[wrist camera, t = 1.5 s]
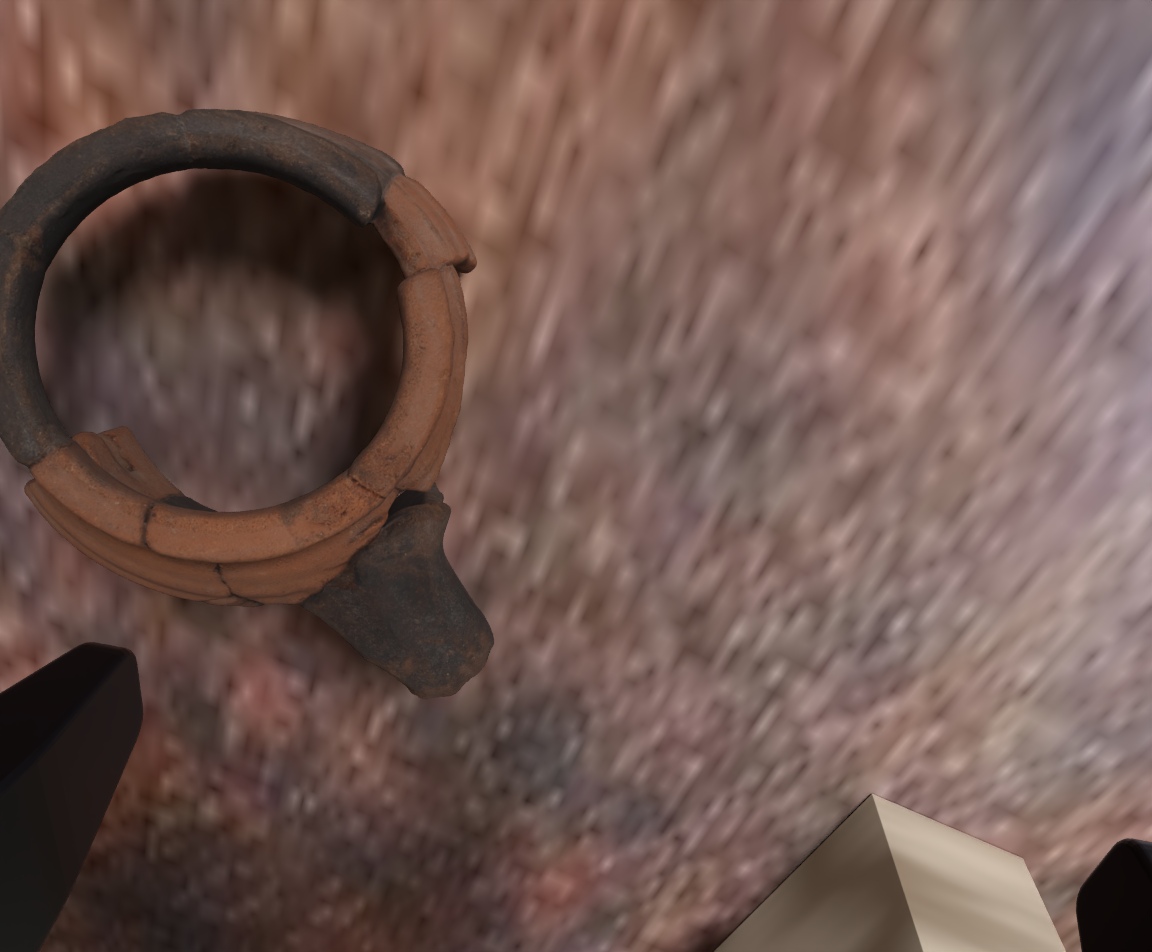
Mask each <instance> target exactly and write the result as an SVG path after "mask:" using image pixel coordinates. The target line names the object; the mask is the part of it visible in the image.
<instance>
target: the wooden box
mask: <svg viewBox="0 0 1152 952" xmlns="http://www.w3.org/2000/svg"><path fill="white" fill-rule="evenodd" d="M714 952H1066V951H1065V949H1064V947H1063V944H1062V942H1061V940H1060V938H1059V936H1058V934H1057V931H1056V929H1055V927H1054V925H1053V923H1052V921H1051V918H1050V916H1049V914H1048V912H1047V910H1046V908H1045V906H1044V903H1043V901H1042V899H1041V897H1040V895H1039V893H1038V890H1037V888H1036V886H1035V884H1034V882H1033V880H1032V877H1031V875H1030V873H1029V871H1028V869H1027V867H1026V865H1025V862H1024V860H1023V858H1021V857H1018V856H1016V855H1014V854H1011V853H1009V852H1007V851H1004V850H1002V849H1000V848H997V847H995V846H993V845H990V844H988V843H986V842H983V841H981V840H979V839H976V838H974V837H972V836H969V835H967V834H965V833H962V832H960V831H958V830H955V829H953V828H951V827H948V826H946V825H944V824H941V823H939V822H937V821H934V820H932V819H930V818H927V817H925V816H923V815H920V814H918V813H916V812H913V811H911V810H909V809H906V808H904V807H902V806H899V805H897V804H895V803H892V802H890V801H888V800H885V799H883V798H881V797H878V796H876V795H874V794H871V795H870V796H869V797H868V798H867V799H866V800H865V801H864V802H863V803H862V804H861V805H860V806H859V807H858V808H857V809H856V810H855V811H854V812H853V813H852V814H851V815H850V816H849V817H848V818H847V819H846V820H845V821H844V822H843V823H842V824H841V825H840V826H839V827H838V828H837V829H836V830H835V831H834V832H833V833H832V834H831V835H830V836H829V837H828V838H827V839H826V840H825V841H824V842H823V843H822V844H821V845H820V846H819V847H818V848H817V849H816V850H815V851H814V852H813V853H812V854H811V855H810V856H809V857H808V858H807V859H806V860H805V861H804V862H803V863H802V864H801V865H800V866H799V867H798V868H797V869H796V870H795V871H794V872H793V873H792V874H791V875H790V876H789V877H788V878H787V879H786V880H785V881H784V882H783V883H782V884H781V885H780V886H779V887H778V888H777V889H776V890H775V891H774V892H773V893H772V894H771V895H770V896H769V897H768V898H767V899H766V900H765V901H764V902H763V903H762V904H761V905H760V906H759V907H758V908H757V909H756V910H755V911H754V912H753V913H752V914H751V915H750V916H749V917H748V918H747V919H746V920H745V921H744V922H743V923H742V924H741V925H740V926H739V927H738V928H737V929H736V930H735V931H734V932H733V933H732V934H731V935H730V936H729V937H728V938H727V939H726V940H725V941H724V942H723V943H722V944H721V945H720V946H719V947H718V948H717V949H716V950H715V951H714Z"/></svg>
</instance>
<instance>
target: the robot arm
mask: <svg viewBox="0 0 1152 952" xmlns="http://www.w3.org/2000/svg"><path fill="white" fill-rule="evenodd" d="M142 720H143V705H142V697H141V690H140V682H139V674H138V666H137V661H136V657H135V655H134V654H133V652H132V651H131V650H129V649H126V648H122V647H117V646H111V645H106V644H101V643H95V642H88V643H84V644H81V645H79V646H77V647H75V648H73V649H72V650H70V651H68V652H67V653H65V654H63V655H62V656H60V657H59V658H57V659H55V660H54V661H52V662H50V663H49V664H47V665H46V666H44V667H42V668H41V669H39V670H37V671H36V672H34V673H33V674H31V675H29V676H28V677H26V678H24V679H23V680H21V681H19V682H18V683H16V684H15V685H13V686H11V687H10V688H8V689H6V690H5V691H3V692H2V693H0V952H38V951H39V950H40V948H41V946H42V944H43V943H44V941H45V939H46V937H47V935H48V934H49V932H50V930H51V928H52V927H53V925H54V923H55V921H56V919H57V917H58V915H59V914H60V912H61V910H62V908H63V906H64V904H65V902H66V900H67V898H68V897H69V894H70V892H71V890H72V888H73V886H74V883H75V881H76V879H77V877H78V875H79V873H80V870H81V868H82V866H83V863H84V861H85V859H86V856H87V854H88V852H89V849H90V847H91V845H92V842H93V840H94V838H95V836H96V833H97V831H98V829H99V826H100V824H101V822H102V819H103V817H104V815H105V812H106V810H107V808H108V805H109V803H110V801H111V798H112V796H113V794H114V791H115V789H116V787H117V784H118V782H119V780H120V777H121V775H122V773H123V770H124V768H125V766H126V764H127V761H128V759H129V757H130V754H131V752H132V750H133V747H134V745H135V743H136V740H137V738H138V735H139V732H140V729H141V725H142ZM1076 914H1077V922H1078V929H1079V936H1080V942H1081V949H1082V952H1152V842H1148V841H1142V840H1137V839H1123V840H1121V841H1119V842H1117V843H1116V844H1115V845H1114V846H1113V847H1112V849H1111V850H1110V851H1109V852H1108V853H1107V855H1106V856H1105V857H1104V858H1103V860H1102V861H1101V862H1100V863H1099V865H1098V866H1097V867H1096V868H1095V870H1094V871H1093V872H1092V873H1091V874H1090V876H1089V877H1088V878H1087V879H1086V881H1085V882H1084V883H1083V885H1082V886H1081V888H1080V891H1079V893H1078V897H1077V902H1076Z"/></svg>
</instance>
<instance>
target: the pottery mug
mask: <svg viewBox="0 0 1152 952" xmlns="http://www.w3.org/2000/svg"><path fill="white" fill-rule="evenodd" d="M193 168H198V169H203V168H207V169H231V170H242V171H248V172H255V173H261V174H264V175H268V176H271V177H274V178H278V179H281V180H283V181H286V182H289V183H291V184H293V185H295V186H297V187H299V188H301V189H302V190H304V191H307V192H310V193H312V194H314V195H316V196H318V197H319V198H321V199H322V200H324V201H325V202H327V203H329V204H330V205H332V206H333V207H334V208H336V209H337V210H338V211H339V212H340V213H341V214H343V215H344V216H345V217H347V218H348V219H349V220H350V221H352V222H353V223H354V224H356V225H358V226H360V227H364V226H365V225H366V224H368V223H371V224H373V226H374V227H375V229H376V230H377V231H378V233H379V234H380V235H381V237H382V239H383V240H384V242H385V243H386V245H387V246H388V247H389V249H390V250H391V251H392V253H393V254H394V256H395V258H396V259H397V261H398V263H399V265H400V268H401V270H402V273H403V275H404V278H405V280H404V281H403V282H402V283H400V285H399V286H398V288H397V299H398V304H399V310H400V316H401V322H402V327H403V362H402V370H401V375H400V379H399V384H398V387H397V390H396V394H395V397H394V399H393V402H392V404H391V407H390V409H389V411H388V414H387V416H386V418H385V420H384V421H383V423H382V425H381V427H380V428H379V430H378V432H377V434H376V435H375V437H374V438H373V439H372V440H371V442H370V443H369V444H368V445H367V447H366V448H365V449H363V450H362V451H361V453H360V454H359V455H358V456H357V457H356V458H355V460H354V461H353V462H352V464H351V466H350V467H349V468H348V469H347V470H346V471H344V472H343V473H341V474H340V475H338V476H337V477H335V478H334V479H333V480H331V481H330V482H328V483H327V484H325V485H323V486H321V487H319V488H318V489H316V490H314V491H312V492H310V493H308V494H305V495H303V496H301V497H299V498H296V499H293V500H291V501H288V502H286V503H283V504H280V505H276V506H273V507H269V508H265V509H258V510H250V511H242V512H217V511H215V510H212V509H210V508H207V507H205V506H203V505H201V504H199V503H198V502H196V501H194V500H192V499H191V498H188V497H186V496H185V495H184V494H183V493H182V492H181V491H180V490H179V489H177V488H176V487H175V486H174V485H173V484H172V483H171V482H170V481H169V480H168V479H167V478H166V477H165V476H164V475H163V474H162V473H161V472H160V471H159V469H158V468H157V467H156V466H155V465H154V464H153V463H152V462H151V461H150V459H149V458H148V457H147V455H146V454H145V452H144V451H143V449H142V448H141V446H140V445H139V443H138V442H137V440H136V438H135V436H134V435H133V433H132V432H131V431H130V430H129V429H128V428H126V427H119V428H115V429H112V430H108V431H104V432H101V433H99V434H95V433H93V432H81V433H78V434H77V435H75V436H74V437H73V438H72V439H71V438H70V437H69V436H68V435H67V433H66V432H65V430H64V428H63V427H62V425H61V424H60V422H59V420H58V418H57V417H56V415H55V413H54V411H53V409H52V407H51V405H50V402H49V400H48V397H47V395H46V392H45V390H44V387H43V384H42V380H41V377H40V373H39V368H38V362H37V357H36V347H35V321H36V311H37V304H38V299H39V295H40V291H41V288H42V284H43V280H44V276H45V272H46V270H47V268H48V267H49V265H50V264H51V262H52V260H53V259H54V257H55V255H56V254H57V252H58V250H59V249H60V248H61V246H62V245H63V243H64V242H65V240H66V239H67V237H68V236H69V235H70V234H71V233H72V232H73V231H74V230H75V229H76V228H77V226H78V225H79V224H80V223H81V222H82V221H83V220H84V219H85V218H86V217H87V216H88V215H89V214H90V213H91V212H92V211H94V210H95V209H96V208H97V207H98V206H100V205H101V204H102V203H104V202H105V201H106V200H107V199H109V198H110V197H112V196H114V195H116V194H118V193H119V192H121V191H123V190H124V189H126V188H128V187H130V186H132V185H134V184H137V183H139V182H141V181H144V180H148V179H151V178H153V177H155V176H158V175H162V174H166V173H171V172H175V171H182V170H187V169H193ZM476 265H477V261H476V257H475V255H474V253H473V251H472V249H471V247H470V246H469V244H468V243H467V241H466V239H465V238H464V236H463V234H462V233H461V231H460V230H459V228H458V227H457V225H456V224H455V222H454V221H453V220H452V218H451V217H450V216H449V214H448V213H447V212H446V210H445V209H444V208H443V207H442V206H441V205H440V203H439V202H438V201H437V200H436V199H435V198H434V197H433V196H432V195H431V194H430V192H429V191H428V190H427V189H426V188H425V187H424V186H423V185H421V184H420V183H419V182H417V181H415V180H413V179H411V178H408V177H406V176H405V174H404V170H403V168H402V167H401V165H400V164H399V163H398V162H396V161H395V160H394V159H393V158H392V157H390V156H389V155H387V154H386V153H384V152H382V151H380V150H377V149H375V148H373V147H370V146H368V145H366V144H364V143H362V142H359V141H357V140H354V139H352V138H350V137H347V136H345V135H341V134H338V133H335V132H333V131H330V130H327V129H324V128H322V127H319V126H316V125H314V124H309V123H305V122H302V121H299V120H295V119H291V118H287V117H282V116H278V115H272V114H267V113H259V112H249V111H241V110H220V109H193V110H188V111H185V112H184V113H182V114H180V115H174V114H169V113H164V112H161V113H156V114H152V115H147V116H141V117H132V118H125V119H124V120H122V121H119V122H118V123H116V124H114V125H112V126H109V127H107V128H105V129H100V130H98V131H96V132H94V133H92V134H90V135H88V136H85V137H83V138H80V139H78V140H76V141H74V142H72V143H70V144H69V145H68V146H66V147H64V148H63V149H61V150H59V151H58V152H57V153H55V154H54V155H53V156H52V157H51V158H50V159H49V160H48V161H47V162H45V163H44V164H43V165H41V166H40V167H38V168H37V169H35V170H34V172H33V173H32V174H31V175H30V176H29V177H28V178H26V179H25V181H24V182H23V183H22V184H21V185H20V186H19V188H18V189H17V191H16V193H15V194H14V196H13V197H12V198H11V199H10V200H9V201H8V202H7V203H6V204H5V205H4V206H3V207H2V209H1V210H0V437H1V439H2V441H3V442H4V444H5V446H6V447H7V449H8V450H9V452H10V453H11V455H12V456H13V457H14V458H15V459H16V460H17V461H18V462H19V463H22V464H24V465H26V466H27V467H28V468H29V469H30V471H31V473H32V475H33V477H34V479H32V480H30V481H29V482H28V483H27V484H26V485H25V488H24V490H25V493H26V495H27V496H28V497H29V499H30V500H31V501H32V503H33V504H34V505H35V507H36V508H37V509H38V511H39V512H40V513H41V514H42V516H43V517H44V518H45V519H46V520H47V521H48V522H49V524H50V525H51V526H52V527H53V528H54V529H55V530H56V531H57V532H58V533H59V534H60V535H62V536H63V537H64V538H65V539H66V540H67V541H69V542H70V543H71V544H72V545H73V546H74V547H76V548H77V549H78V550H80V551H81V552H82V553H84V554H85V555H86V556H88V557H89V558H91V559H93V560H94V561H96V562H97V563H98V564H100V565H102V566H104V567H105V568H107V569H109V570H110V571H112V572H114V573H116V574H118V575H120V576H122V577H124V578H126V579H128V580H130V581H133V582H135V583H138V584H141V585H143V586H146V587H148V588H151V589H153V590H156V591H159V592H162V593H165V594H168V595H172V596H175V597H179V598H183V599H189V600H193V601H202V602H206V603H208V604H212V605H228V606H247V607H255V606H261V605H264V604H301V605H302V606H303V607H304V608H305V609H306V610H308V611H310V612H311V613H313V614H315V615H317V616H318V617H319V618H320V619H322V620H323V621H324V622H325V623H327V624H328V625H329V626H330V627H332V628H333V629H334V630H335V631H337V633H338V634H339V635H341V636H342V637H343V638H344V639H345V640H346V641H347V642H348V643H349V644H350V645H352V646H353V647H354V648H355V649H356V650H357V651H358V652H359V653H360V654H361V655H362V656H363V657H364V658H365V659H366V660H367V661H369V662H371V663H373V664H375V665H376V666H378V667H380V668H382V669H383V670H385V671H387V672H388V673H390V674H391V675H393V676H394V677H395V678H397V679H398V680H399V681H400V682H402V683H403V684H404V685H405V686H406V687H407V688H408V689H409V690H410V692H411V693H412V694H414V695H417V696H418V697H419V698H422V699H429V698H436V697H445V696H451V695H454V694H456V693H457V692H458V691H459V690H460V689H461V687H462V686H463V685H464V684H465V683H466V682H467V681H469V680H470V679H471V678H472V677H474V676H475V675H477V674H478V673H479V672H480V671H481V669H482V668H483V667H484V665H485V663H486V662H487V659H488V656H489V653H490V650H491V648H492V647H493V644H494V638H493V633H492V631H491V628H490V626H489V624H488V622H487V620H486V618H485V616H484V615H483V613H482V612H481V611H480V609H479V608H478V607H477V606H476V605H475V603H474V602H473V600H472V599H471V597H470V596H469V594H468V592H467V591H466V589H465V588H464V586H463V585H462V583H461V582H460V580H459V578H458V577H457V575H456V574H455V572H454V570H453V569H452V567H451V565H450V564H449V562H448V560H447V558H446V556H445V553H444V550H443V537H444V532H445V529H446V526H447V523H448V520H449V517H450V513H451V508H450V506H448V505H447V504H445V503H443V499H444V497H443V494H442V493H441V492H439V490H438V488H437V486H436V483H435V481H436V479H437V477H438V474H439V472H440V468H441V466H442V463H443V461H444V459H445V456H446V453H447V449H448V447H449V445H450V439H451V435H452V432H453V429H454V427H455V424H456V421H457V418H458V415H459V412H460V407H461V400H462V391H463V384H464V376H465V361H466V356H467V346H468V325H467V314H466V308H465V302H464V296H463V291H462V288H461V285H460V279H459V277H458V274H457V272H456V270H455V268H456V269H457V270H458V271H460V272H462V273H469V272H471V271H472V270H473V269H474V268H475V267H476ZM454 267H455V268H454ZM405 490H406V491H405ZM402 491H405V492H404V493H402V494H401V495H400V496H399V497H397V495H398V493H400V492H402ZM396 497H397V498H396ZM395 498H396V499H395Z"/></svg>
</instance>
